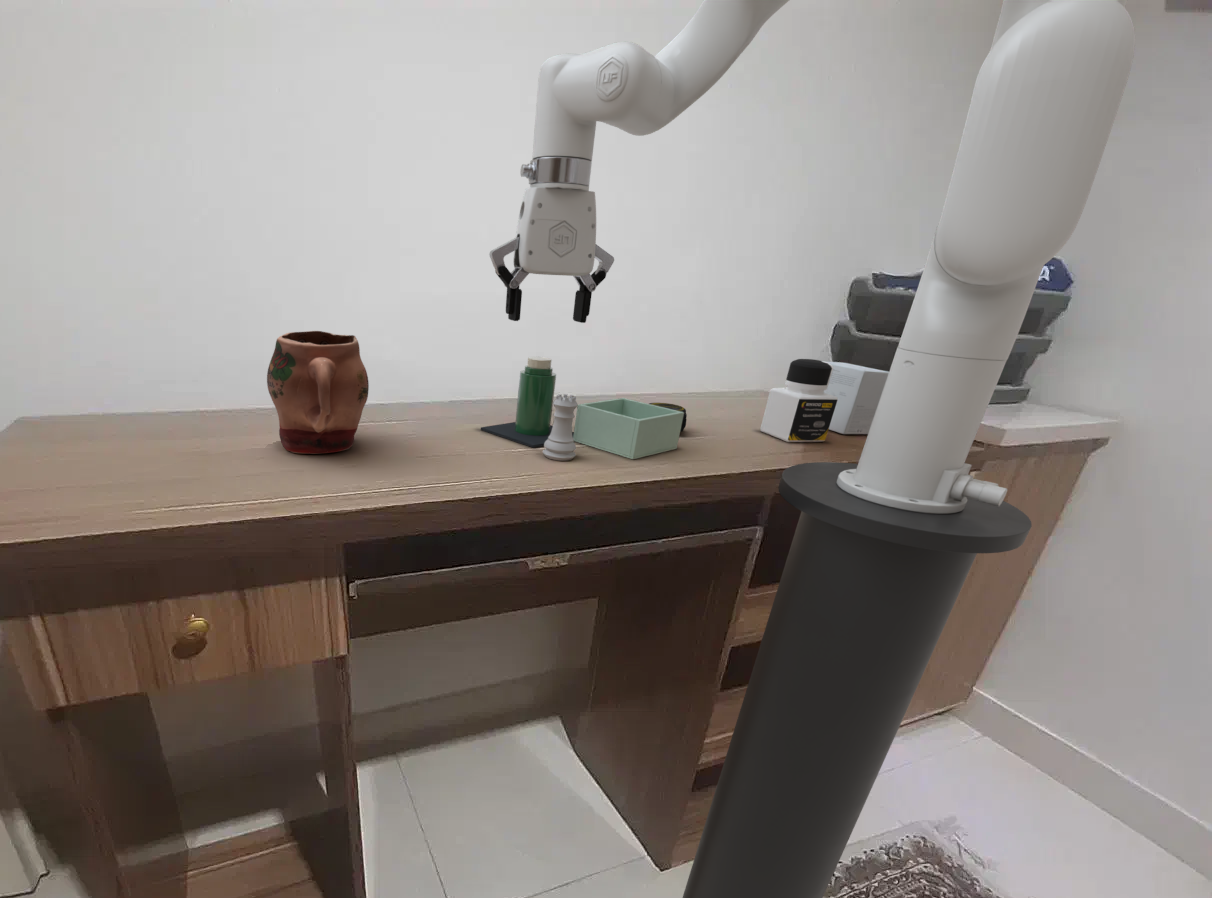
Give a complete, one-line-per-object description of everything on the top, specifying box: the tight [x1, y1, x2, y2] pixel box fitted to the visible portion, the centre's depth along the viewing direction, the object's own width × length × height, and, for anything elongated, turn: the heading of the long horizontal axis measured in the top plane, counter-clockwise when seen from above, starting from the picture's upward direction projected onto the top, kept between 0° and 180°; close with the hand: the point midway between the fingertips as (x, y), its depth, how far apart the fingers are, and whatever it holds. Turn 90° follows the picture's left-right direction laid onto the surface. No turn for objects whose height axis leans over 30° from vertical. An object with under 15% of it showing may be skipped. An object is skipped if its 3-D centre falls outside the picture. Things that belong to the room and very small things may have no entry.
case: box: [573, 397, 684, 460], centre depth 93 cm, size 11×11×5 cm
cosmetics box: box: [824, 361, 889, 435], centre depth 111 cm, size 10×6×10 cm, turn 15°
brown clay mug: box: [266, 330, 370, 455], centre depth 80 cm, size 20×12×14 cm, turn 21°
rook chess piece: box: [542, 393, 579, 462], centre depth 85 cm, size 4×4×8 cm
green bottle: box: [514, 356, 557, 436], centre depth 94 cm, size 5×5×10 cm
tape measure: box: [648, 402, 688, 433], centre depth 103 cm, size 7×7×4 cm
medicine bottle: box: [759, 358, 838, 443], centre depth 102 cm, size 7×7×12 cm
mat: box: [480, 421, 574, 449], centre depth 96 cm, size 11×11×1 cm
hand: (546, 320), depth 89 cm, fingers open, 9 cm apart
